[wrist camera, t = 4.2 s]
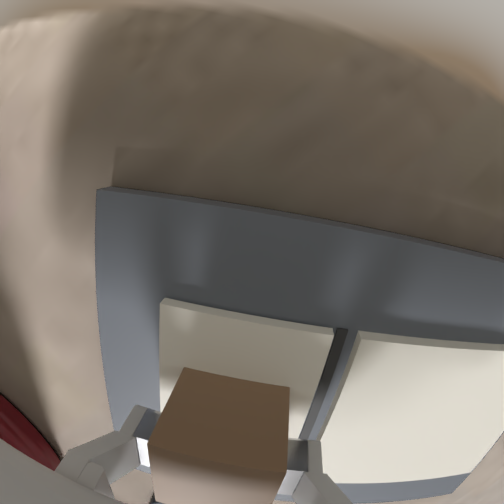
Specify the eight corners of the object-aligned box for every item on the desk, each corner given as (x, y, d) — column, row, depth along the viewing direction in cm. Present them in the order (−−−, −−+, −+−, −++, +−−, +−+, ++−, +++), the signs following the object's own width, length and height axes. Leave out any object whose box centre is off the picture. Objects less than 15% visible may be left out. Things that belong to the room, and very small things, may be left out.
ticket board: (568, 276, 10) (586, 287, 9) (448, 483, 15) (453, 499, 13) (110, 186, 11) (87, 191, 10) (127, 453, 16) (118, 470, 15)
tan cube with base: (332, 328, 11) (350, 419, 7) (281, 472, 14) (275, 544, 9) (164, 297, 11) (104, 370, 7) (165, 449, 14) (138, 515, 10)
